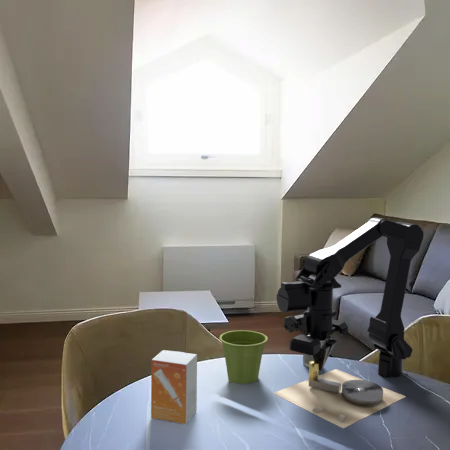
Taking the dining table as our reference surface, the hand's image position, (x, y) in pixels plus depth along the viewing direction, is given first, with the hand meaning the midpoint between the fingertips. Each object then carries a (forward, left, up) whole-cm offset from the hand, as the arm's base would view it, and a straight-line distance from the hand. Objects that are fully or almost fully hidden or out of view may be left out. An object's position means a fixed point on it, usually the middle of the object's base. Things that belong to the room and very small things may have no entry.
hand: (319, 370), depth 121 cm
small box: (+35, -10, -5) cm, 37 cm away
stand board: (+1, +7, -5) cm, 8 cm away
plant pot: (+12, -14, -5) cm, 19 cm away
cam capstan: (0, +7, -3) cm, 8 cm away
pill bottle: (-8, -9, -5) cm, 13 cm away
